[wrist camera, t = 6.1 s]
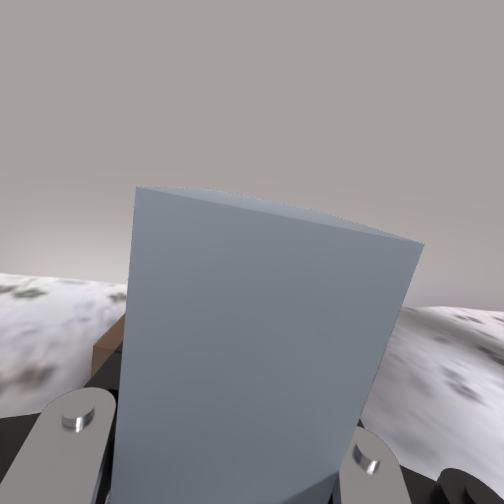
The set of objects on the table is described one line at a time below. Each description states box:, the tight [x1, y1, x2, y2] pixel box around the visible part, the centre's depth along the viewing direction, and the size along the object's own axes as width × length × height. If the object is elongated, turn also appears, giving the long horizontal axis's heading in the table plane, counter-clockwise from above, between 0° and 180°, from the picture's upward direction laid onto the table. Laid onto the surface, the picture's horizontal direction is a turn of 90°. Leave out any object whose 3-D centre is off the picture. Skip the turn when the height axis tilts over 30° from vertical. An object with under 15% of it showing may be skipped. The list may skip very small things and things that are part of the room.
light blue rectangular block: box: [110, 187, 424, 504], centre depth 8 cm, size 4×6×12 cm
